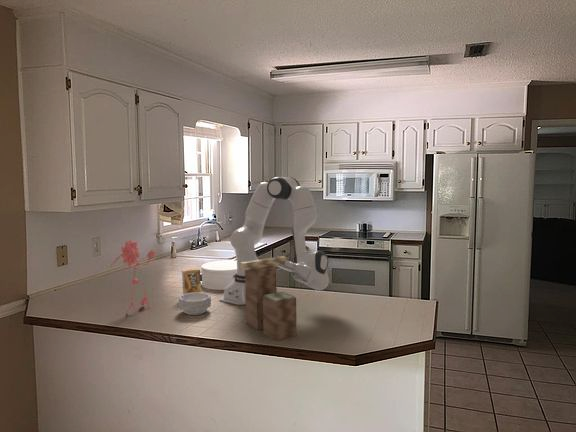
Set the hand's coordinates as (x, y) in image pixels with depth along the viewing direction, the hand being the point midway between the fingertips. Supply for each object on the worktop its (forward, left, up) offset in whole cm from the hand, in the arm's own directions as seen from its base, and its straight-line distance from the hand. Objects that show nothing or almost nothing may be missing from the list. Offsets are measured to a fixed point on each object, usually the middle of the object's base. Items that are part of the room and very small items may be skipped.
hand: (278, 260), depth 213 cm
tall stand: (-5, -8, -28) cm, 29 cm away
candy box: (-59, +14, -28) cm, 67 cm away
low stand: (+8, -16, -28) cm, 33 cm away
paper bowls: (-43, -5, -28) cm, 51 cm away
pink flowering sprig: (-74, -14, -28) cm, 80 cm away
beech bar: (-4, -7, -2) cm, 8 cm away
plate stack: (-59, +47, -28) cm, 80 cm away
